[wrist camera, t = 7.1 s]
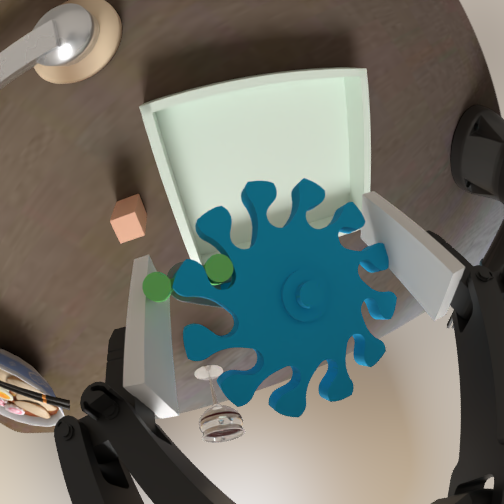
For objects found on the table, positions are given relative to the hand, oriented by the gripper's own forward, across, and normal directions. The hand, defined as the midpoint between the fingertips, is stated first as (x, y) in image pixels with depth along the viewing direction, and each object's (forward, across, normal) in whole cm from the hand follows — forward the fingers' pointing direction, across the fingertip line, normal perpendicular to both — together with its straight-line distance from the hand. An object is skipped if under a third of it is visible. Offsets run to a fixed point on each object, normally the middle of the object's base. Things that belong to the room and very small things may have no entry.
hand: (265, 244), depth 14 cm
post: (+15, +10, +2) cm, 18 cm away
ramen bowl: (+15, +45, +20) cm, 51 cm away
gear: (+1, 0, 0) cm, 1 cm away
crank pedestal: (+15, +10, -15) cm, 23 cm away
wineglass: (+15, +11, +34) cm, 38 cm away
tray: (+15, -4, +2) cm, 16 cm away
